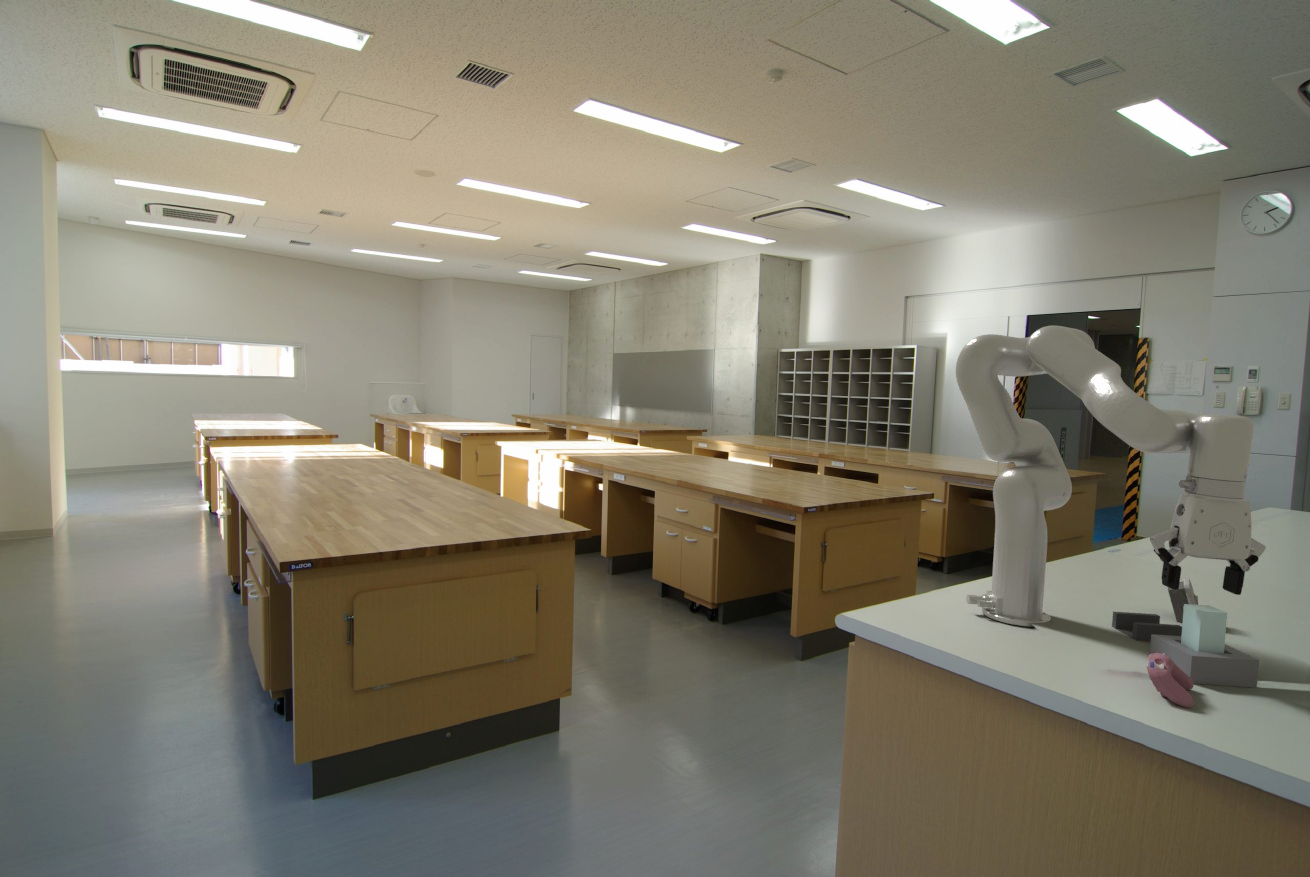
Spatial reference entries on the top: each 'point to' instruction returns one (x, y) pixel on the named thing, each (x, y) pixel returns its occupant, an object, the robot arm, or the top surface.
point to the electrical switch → (1182, 598)
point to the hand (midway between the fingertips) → (1200, 589)
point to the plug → (1204, 628)
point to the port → (1209, 663)
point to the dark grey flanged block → (1143, 625)
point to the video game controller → (1170, 679)
